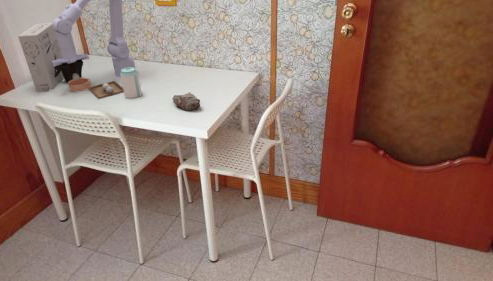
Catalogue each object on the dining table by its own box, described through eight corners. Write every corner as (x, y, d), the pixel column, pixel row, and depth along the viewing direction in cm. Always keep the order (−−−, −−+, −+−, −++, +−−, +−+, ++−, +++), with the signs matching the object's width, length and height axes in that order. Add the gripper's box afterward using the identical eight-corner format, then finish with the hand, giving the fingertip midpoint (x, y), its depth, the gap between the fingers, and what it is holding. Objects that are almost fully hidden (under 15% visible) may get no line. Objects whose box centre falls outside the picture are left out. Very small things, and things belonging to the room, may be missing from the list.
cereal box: (53, 90, 170) (36, 34, 158) (36, 91, 170) (17, 35, 157) (68, 73, 189) (53, 22, 176) (52, 74, 189) (36, 23, 176)
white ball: (109, 88, 169) (107, 81, 168) (111, 90, 167) (110, 83, 165) (102, 90, 168) (100, 83, 166) (104, 92, 165) (102, 85, 164)
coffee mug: (76, 85, 176) (70, 64, 170) (59, 84, 177) (53, 63, 172) (90, 75, 185) (84, 55, 180) (74, 75, 187) (68, 55, 182)
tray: (114, 83, 175) (114, 80, 175) (126, 92, 166) (125, 89, 165) (88, 90, 169) (87, 87, 169) (98, 100, 160) (98, 97, 159)
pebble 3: (112, 91, 166) (111, 84, 164) (115, 93, 164) (113, 86, 162) (105, 93, 164) (104, 86, 163) (108, 95, 162) (106, 88, 161)
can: (121, 97, 162) (115, 70, 156) (134, 91, 167) (129, 65, 160) (132, 100, 158) (127, 73, 152) (145, 95, 163) (140, 68, 157)
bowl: (87, 82, 177) (86, 76, 176) (93, 88, 171) (92, 81, 169) (67, 87, 173) (65, 81, 171) (73, 93, 167) (71, 87, 165)
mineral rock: (170, 102, 156) (168, 92, 154) (187, 97, 160) (186, 87, 157) (184, 115, 145) (183, 105, 143) (203, 110, 149) (202, 100, 146)
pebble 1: (79, 78, 170) (77, 71, 169) (81, 80, 168) (79, 73, 166) (71, 80, 169) (69, 73, 167) (73, 82, 166) (71, 75, 165)
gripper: (51, 53, 155) (61, 84, 161) (87, 46, 162) (95, 76, 169) (47, 49, 160) (56, 80, 166) (82, 42, 167) (90, 72, 174)
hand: (75, 78), depth 168 cm, fingers closed on pebble 1, 3 cm apart
